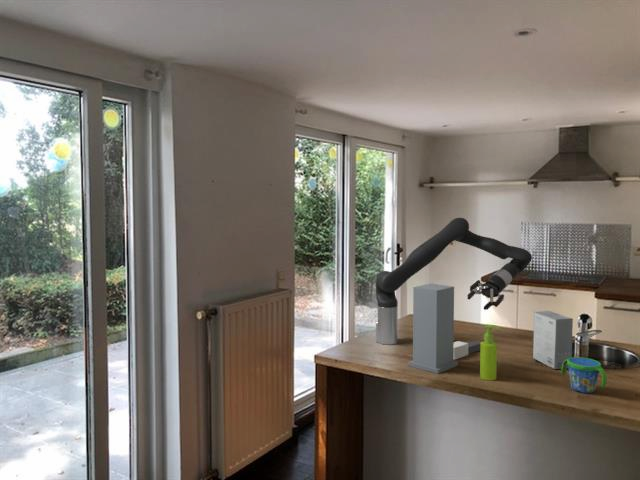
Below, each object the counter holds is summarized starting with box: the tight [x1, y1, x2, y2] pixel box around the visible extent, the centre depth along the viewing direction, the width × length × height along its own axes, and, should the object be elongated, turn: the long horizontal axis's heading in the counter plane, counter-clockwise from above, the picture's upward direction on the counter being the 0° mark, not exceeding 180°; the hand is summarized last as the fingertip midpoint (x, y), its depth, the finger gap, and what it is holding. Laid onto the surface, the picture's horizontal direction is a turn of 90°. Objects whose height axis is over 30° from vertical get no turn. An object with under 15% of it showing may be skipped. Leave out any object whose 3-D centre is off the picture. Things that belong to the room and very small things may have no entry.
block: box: [453, 340, 481, 361], centre depth 226 cm, size 21×5×5 cm, turn 130°
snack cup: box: [560, 356, 608, 394], centre depth 182 cm, size 16×10×10 cm
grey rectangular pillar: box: [407, 283, 459, 375], centre depth 209 cm, size 14×14×32 cm
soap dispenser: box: [479, 324, 501, 381], centre depth 194 cm, size 6×7×20 cm
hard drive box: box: [532, 310, 574, 370], centre depth 211 cm, size 16×8×20 cm, turn 9°
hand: (476, 303), depth 227 cm, fingers open, 8 cm apart
